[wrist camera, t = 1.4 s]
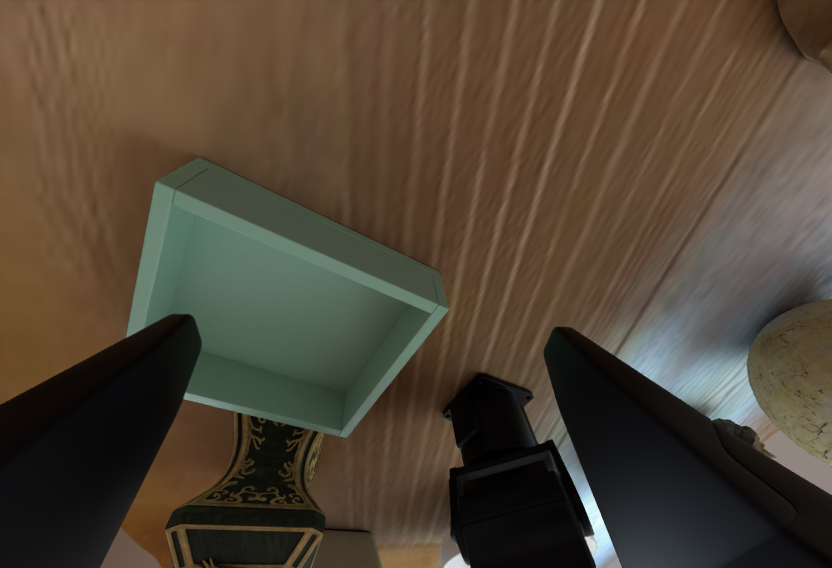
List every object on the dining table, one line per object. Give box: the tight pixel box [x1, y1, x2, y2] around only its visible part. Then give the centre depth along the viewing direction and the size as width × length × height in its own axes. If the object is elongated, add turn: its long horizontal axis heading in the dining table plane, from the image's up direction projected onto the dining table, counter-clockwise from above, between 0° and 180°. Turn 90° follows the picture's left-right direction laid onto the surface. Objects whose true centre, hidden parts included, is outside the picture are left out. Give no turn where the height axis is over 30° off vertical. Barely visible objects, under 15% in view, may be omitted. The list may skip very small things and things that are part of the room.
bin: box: [126, 157, 449, 438], centre depth 22 cm, size 16×15×4 cm
